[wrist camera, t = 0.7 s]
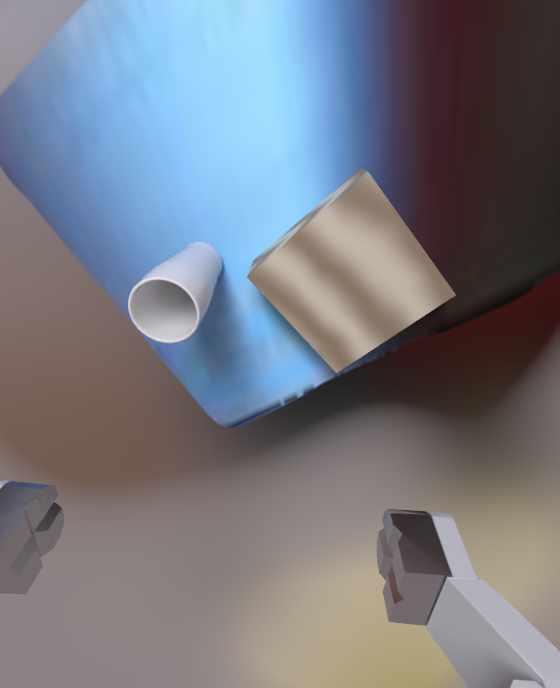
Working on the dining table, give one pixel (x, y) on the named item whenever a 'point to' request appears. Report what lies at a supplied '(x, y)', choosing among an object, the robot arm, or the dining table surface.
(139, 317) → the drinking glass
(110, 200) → the dining table surface
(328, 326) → the birch block
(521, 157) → the dining table surface
